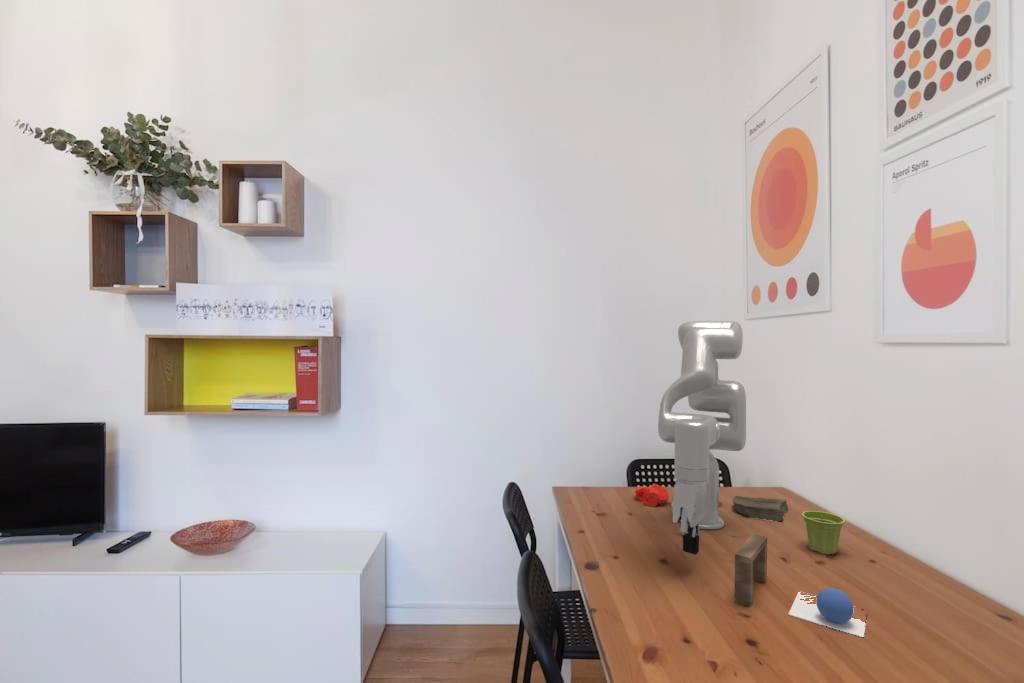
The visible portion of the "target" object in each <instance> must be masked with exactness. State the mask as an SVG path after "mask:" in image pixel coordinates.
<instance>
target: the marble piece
mask: <svg viewBox="0 0 1024 683" xmlns="http://www.w3.org/2000/svg"><path fill="white" fill-rule="evenodd" d="M732 500H733V501H732V502H733V506H734V508H735V510H736V511H737V513H738V512H739V513H738V514H740V513H741V514H740V515H742V514H744V515H743V516H745V515H747V516H749V517H751V518H759V519H766V520H773V521H779V522H782V521H784V519H783V516H784V517H785V515H784V514H785V513H787V511H788V512H789V506H788V504H787V500H785V499H781V498H780V499H779V498H768V497H749V496H741V495H735V496H734V497H733V498H732ZM787 514H788V513H787ZM747 516H746V517H747ZM749 517H748V518H749ZM751 518H750V519H751ZM759 519H758V520H759ZM773 521H772V522H773Z"/></svg>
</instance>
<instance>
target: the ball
mask: <svg viewBox="0 0 1024 683" xmlns="http://www.w3.org/2000/svg"><path fill="white" fill-rule="evenodd" d="M816 596H817V598H816V604H817V608H818V610H819V612H820V613H821V614H822V616H823V617H825V618H826V619H827V620H829V621H831V622H834V623H845V622H847V621H849V620H850V619H851V618H852V616H853V613H854V608H853V606H854V604H853V601H852V600H851V598H850V597H849V596H848V595H847V594H846V593H845V592H843V591H842V590H840V589H838V588H835V587H827V588H823V589H822V590H820V591H819V592H818V594H817V595H816Z"/></svg>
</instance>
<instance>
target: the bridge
mask: <svg viewBox="0 0 1024 683" xmlns="http://www.w3.org/2000/svg"><path fill="white" fill-rule="evenodd" d="M767 570H768V536H766V535H762V534H757V533H752V534H751V535H750V536H749V537H748V538H747V539H746V541H745V542H744V543H743V544H742V545H741V547H739V548H738V550H737V551H736V552H735V554H734V599H733V600H734V603H737V604H738V605H739V604H740V605H744V606H746V607H752V605H753V603H754V599H753V598H754V581H755V582H757V583H761V584H766V582H767V580H768V571H767Z"/></svg>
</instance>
